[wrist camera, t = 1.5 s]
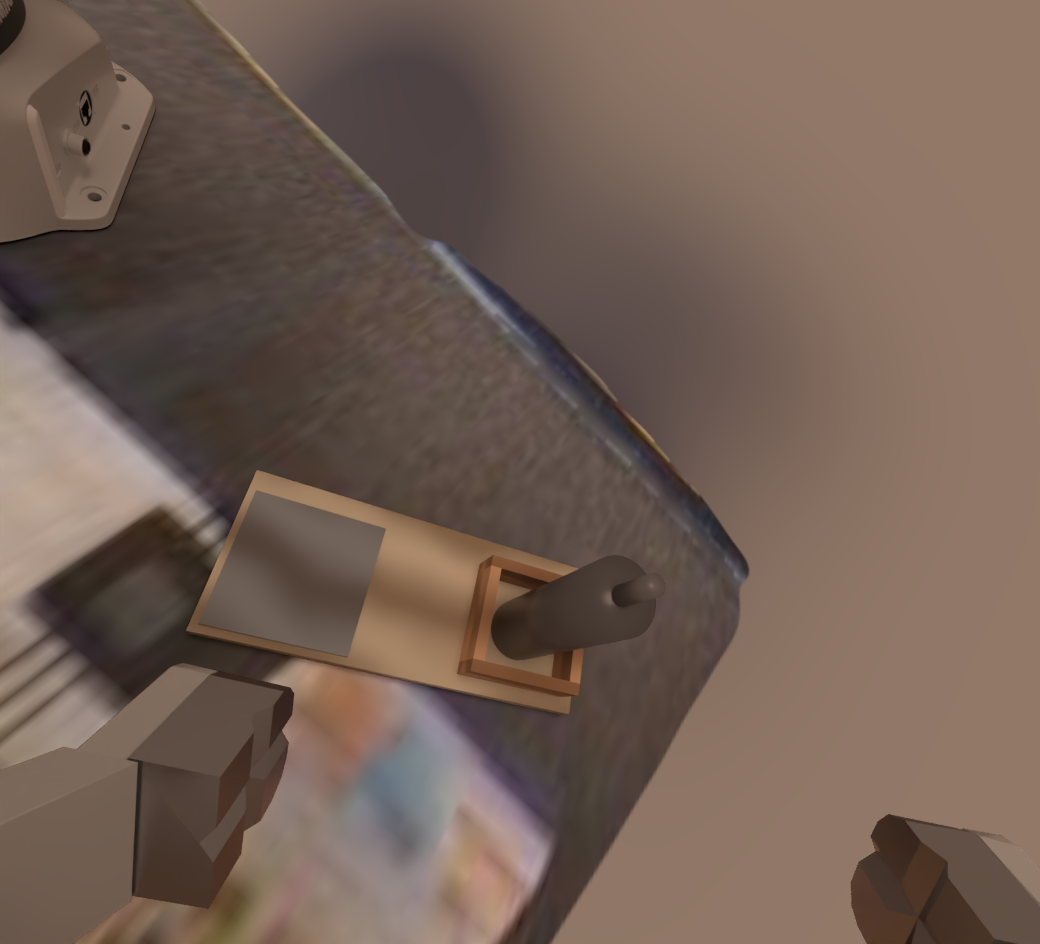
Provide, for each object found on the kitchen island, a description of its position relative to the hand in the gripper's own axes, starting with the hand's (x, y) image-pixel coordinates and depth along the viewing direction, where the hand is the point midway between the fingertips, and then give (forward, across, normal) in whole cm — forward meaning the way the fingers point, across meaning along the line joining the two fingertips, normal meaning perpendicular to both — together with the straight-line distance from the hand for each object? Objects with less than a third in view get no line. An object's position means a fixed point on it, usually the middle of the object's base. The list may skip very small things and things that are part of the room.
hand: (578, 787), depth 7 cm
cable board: (+30, +7, +14) cm, 34 cm away
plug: (+30, -1, +15) cm, 34 cm away
